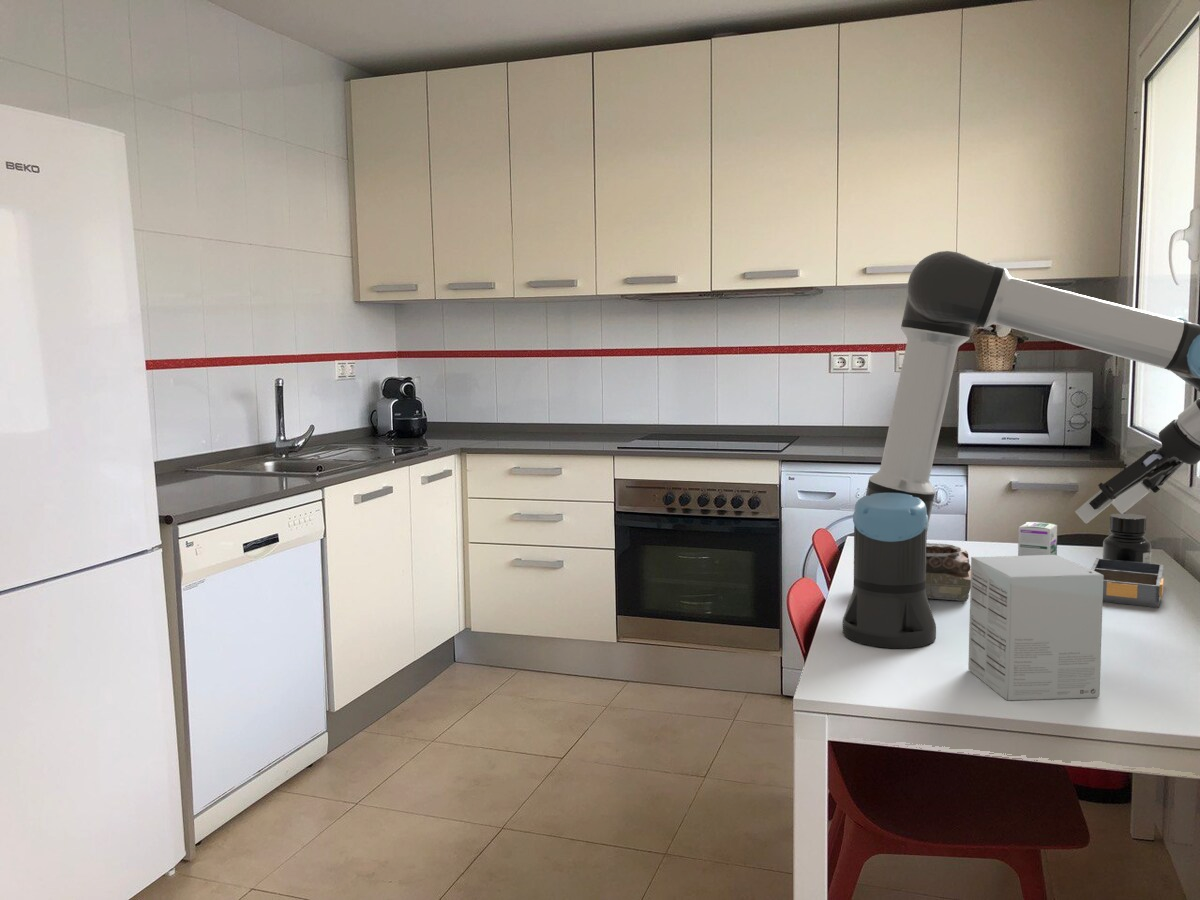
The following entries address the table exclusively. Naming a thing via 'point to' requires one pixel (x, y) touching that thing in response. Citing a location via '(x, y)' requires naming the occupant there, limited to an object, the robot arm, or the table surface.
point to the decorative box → (947, 572)
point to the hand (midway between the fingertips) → (1099, 512)
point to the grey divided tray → (1131, 582)
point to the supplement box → (1036, 627)
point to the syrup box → (1037, 539)
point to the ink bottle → (1127, 539)
